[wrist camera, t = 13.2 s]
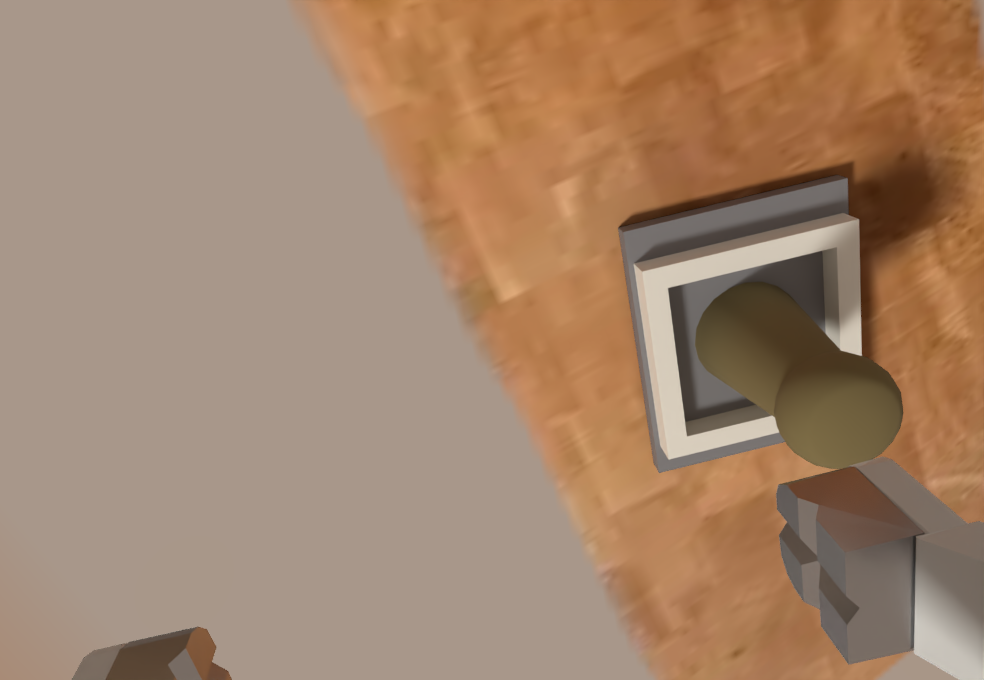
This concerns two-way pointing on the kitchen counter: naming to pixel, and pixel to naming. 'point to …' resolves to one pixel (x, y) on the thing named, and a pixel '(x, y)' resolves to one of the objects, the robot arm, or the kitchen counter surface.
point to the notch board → (711, 271)
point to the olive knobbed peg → (799, 376)
